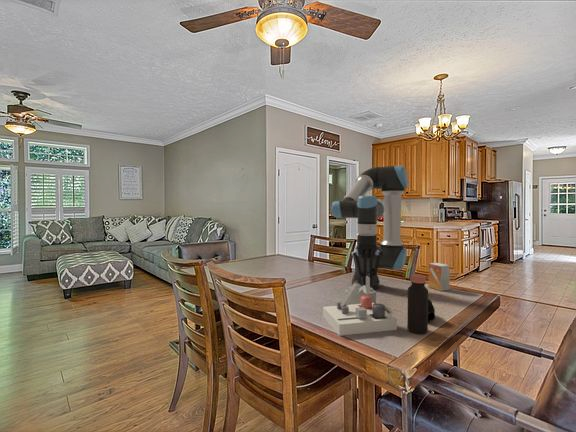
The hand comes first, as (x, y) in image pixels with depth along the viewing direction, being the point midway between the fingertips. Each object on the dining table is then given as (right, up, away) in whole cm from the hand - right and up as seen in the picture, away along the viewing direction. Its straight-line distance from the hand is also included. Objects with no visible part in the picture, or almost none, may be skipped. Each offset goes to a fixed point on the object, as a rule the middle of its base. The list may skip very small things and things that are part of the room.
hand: (366, 292), depth 122 cm
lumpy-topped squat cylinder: (+1, -9, +14) cm, 17 cm away
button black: (+2, -8, -9) cm, 12 cm away
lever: (-10, -5, -4) cm, 12 cm away
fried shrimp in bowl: (+22, -10, +2) cm, 24 cm away
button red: (0, -7, +1) cm, 7 cm away
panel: (-5, -10, -5) cm, 13 cm away
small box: (+48, -8, +39) cm, 63 cm away
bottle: (+15, -11, -13) cm, 22 cm away
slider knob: (-5, -6, -11) cm, 13 cm away
